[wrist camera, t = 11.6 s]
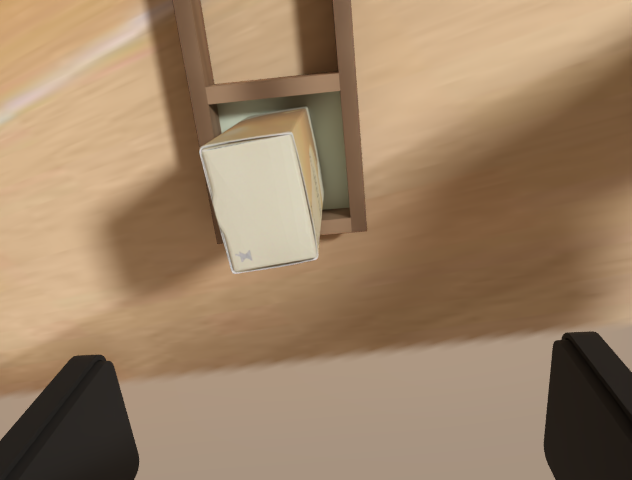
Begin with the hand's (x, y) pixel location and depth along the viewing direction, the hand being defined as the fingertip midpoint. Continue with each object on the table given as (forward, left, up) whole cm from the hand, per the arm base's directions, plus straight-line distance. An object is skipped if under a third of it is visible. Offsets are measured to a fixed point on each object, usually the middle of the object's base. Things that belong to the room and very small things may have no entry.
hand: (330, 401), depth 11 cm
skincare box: (+3, -1, -25) cm, 25 cm away
